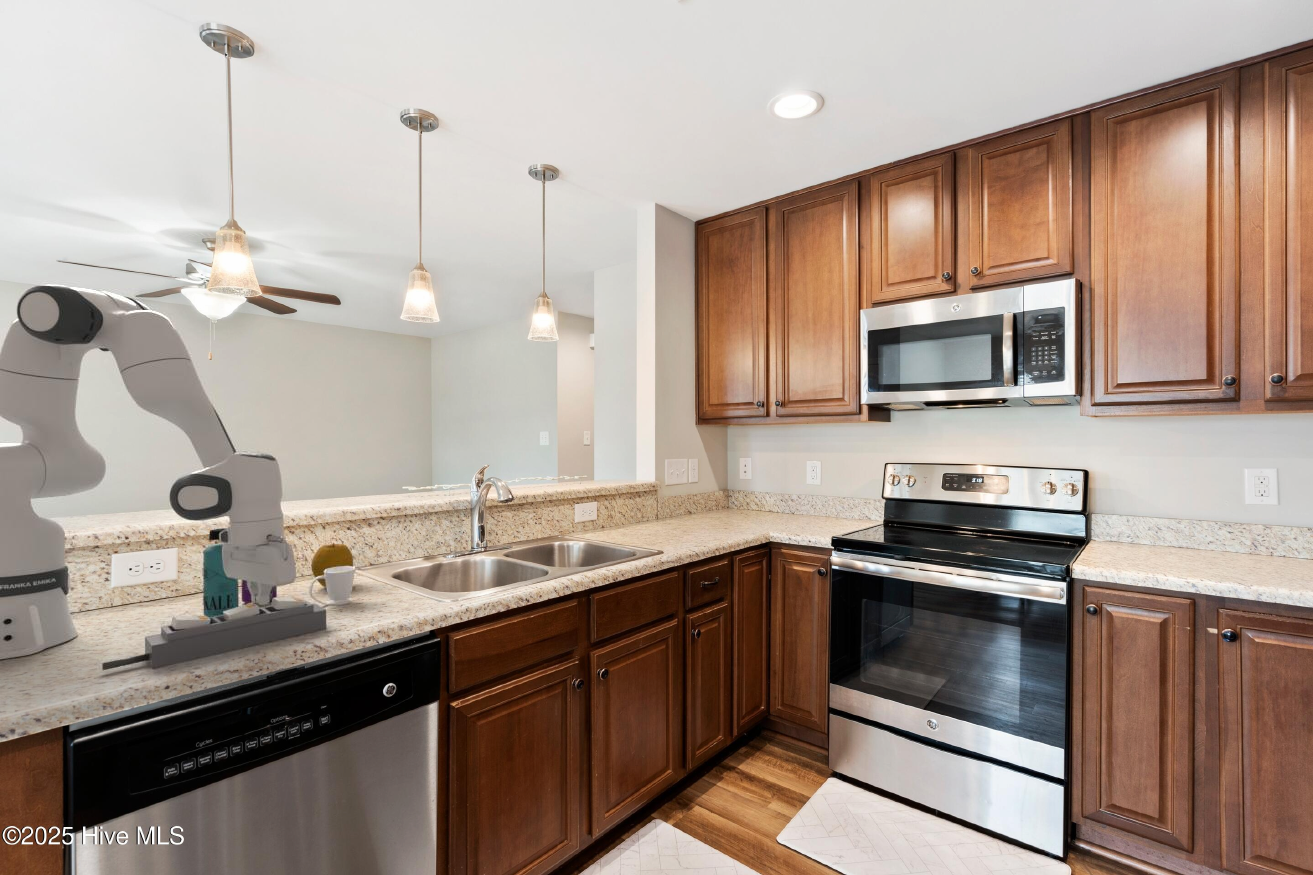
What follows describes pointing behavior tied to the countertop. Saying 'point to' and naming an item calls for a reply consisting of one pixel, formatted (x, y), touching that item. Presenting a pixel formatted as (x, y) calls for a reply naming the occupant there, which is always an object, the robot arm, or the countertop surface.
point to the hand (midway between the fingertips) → (260, 603)
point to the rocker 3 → (287, 603)
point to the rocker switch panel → (226, 635)
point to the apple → (330, 559)
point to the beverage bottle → (217, 580)
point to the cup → (337, 584)
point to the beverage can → (247, 595)
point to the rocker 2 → (241, 612)
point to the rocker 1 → (189, 621)
